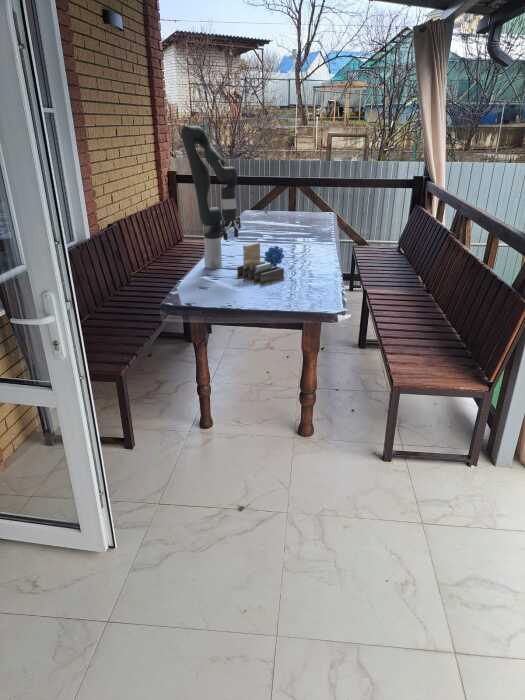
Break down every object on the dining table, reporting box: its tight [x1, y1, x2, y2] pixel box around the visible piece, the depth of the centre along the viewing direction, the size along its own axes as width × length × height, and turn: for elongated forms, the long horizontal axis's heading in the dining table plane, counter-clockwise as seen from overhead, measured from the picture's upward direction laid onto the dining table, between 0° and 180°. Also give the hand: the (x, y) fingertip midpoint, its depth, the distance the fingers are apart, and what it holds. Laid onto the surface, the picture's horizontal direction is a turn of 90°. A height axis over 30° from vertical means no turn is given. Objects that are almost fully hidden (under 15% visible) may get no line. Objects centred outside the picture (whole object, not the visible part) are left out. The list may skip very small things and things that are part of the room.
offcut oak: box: [250, 260, 266, 270], centre depth 259 cm, size 2×9×7 cm, turn 133°
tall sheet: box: [242, 242, 261, 268], centre depth 260 cm, size 2×10×16 cm, turn 133°
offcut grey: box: [256, 262, 271, 272], centre depth 256 cm, size 2×9×7 cm, turn 133°
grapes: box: [263, 245, 285, 267], centre depth 279 cm, size 12×7×12 cm, turn 75°
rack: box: [234, 264, 287, 286], centre depth 258 cm, size 22×18×6 cm
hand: (231, 238), depth 262 cm, fingers open, 8 cm apart
